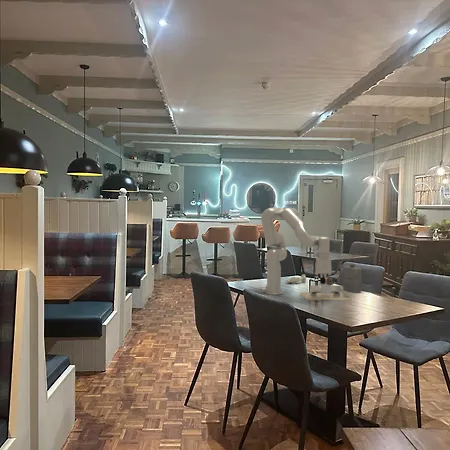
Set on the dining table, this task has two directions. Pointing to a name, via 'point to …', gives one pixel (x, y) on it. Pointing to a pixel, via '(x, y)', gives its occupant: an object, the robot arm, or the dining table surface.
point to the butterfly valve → (297, 279)
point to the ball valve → (325, 293)
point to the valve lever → (329, 281)
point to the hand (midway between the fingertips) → (322, 283)
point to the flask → (352, 279)
